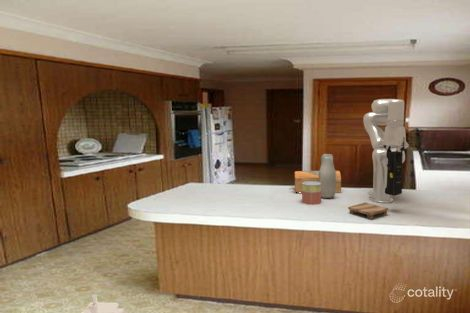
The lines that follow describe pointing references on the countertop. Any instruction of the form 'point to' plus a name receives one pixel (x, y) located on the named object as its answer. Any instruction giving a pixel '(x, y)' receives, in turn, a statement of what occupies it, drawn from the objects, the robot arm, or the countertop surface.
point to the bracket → (102, 307)
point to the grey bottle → (327, 176)
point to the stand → (368, 209)
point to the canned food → (311, 192)
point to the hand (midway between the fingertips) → (394, 158)
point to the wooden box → (313, 179)
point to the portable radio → (394, 174)
